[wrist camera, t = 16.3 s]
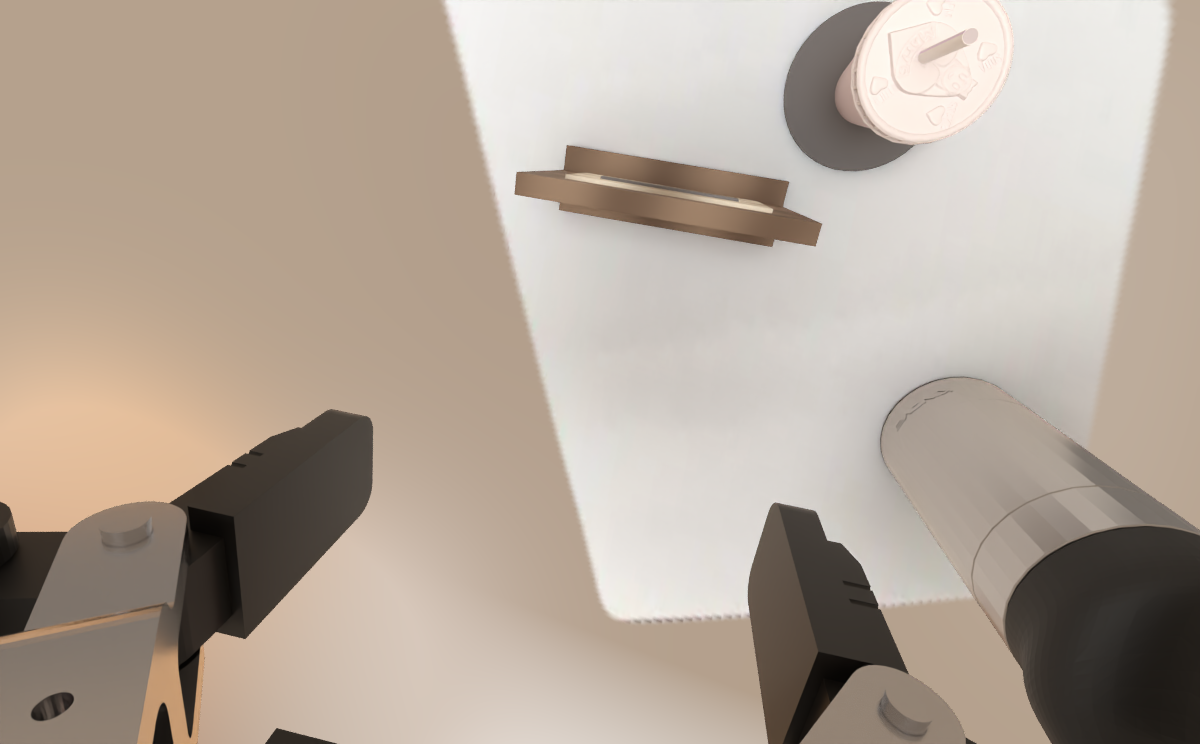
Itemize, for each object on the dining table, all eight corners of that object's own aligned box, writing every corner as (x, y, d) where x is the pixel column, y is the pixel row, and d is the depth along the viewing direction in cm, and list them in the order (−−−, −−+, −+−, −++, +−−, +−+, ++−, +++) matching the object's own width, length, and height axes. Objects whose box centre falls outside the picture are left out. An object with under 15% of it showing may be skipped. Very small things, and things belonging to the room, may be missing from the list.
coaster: (977, 85, 33) (981, 84, 33) (849, 201, 36) (851, 202, 36) (875, -35, 32) (878, -38, 31) (752, 96, 35) (753, 95, 35)
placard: (785, 181, 36) (832, 188, 25) (769, 243, 38) (805, 279, 26) (571, 145, 37) (519, 137, 26) (563, 208, 39) (511, 226, 27)
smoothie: (860, 5, 32) (979, -103, 19) (951, 69, 33) (1128, 6, 20) (788, 112, 35) (850, 80, 22) (874, 170, 35) (986, 173, 22)
